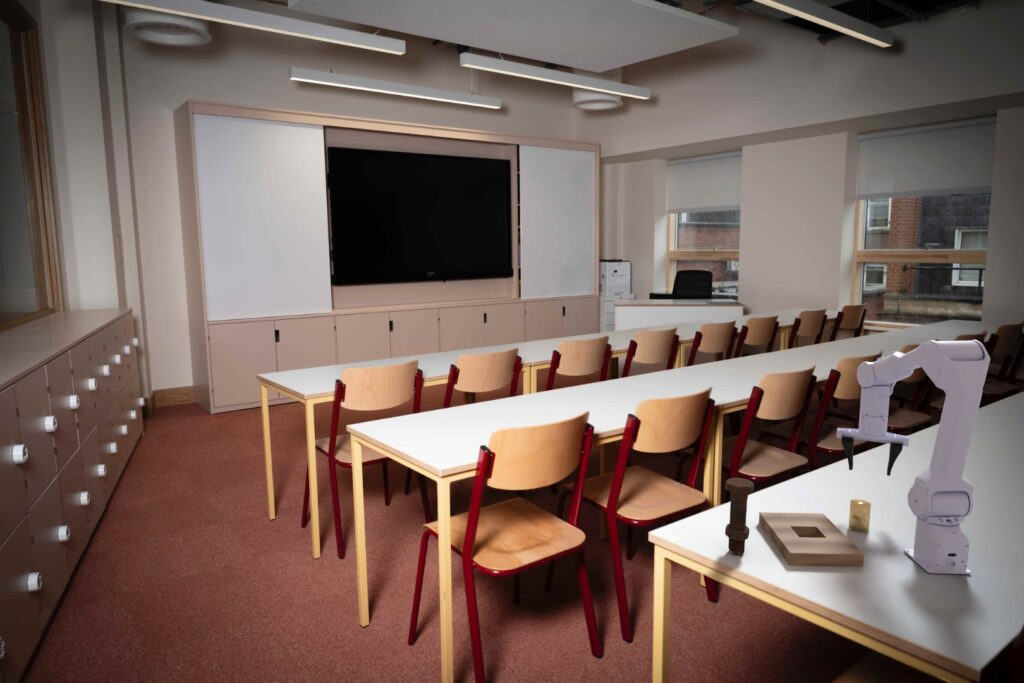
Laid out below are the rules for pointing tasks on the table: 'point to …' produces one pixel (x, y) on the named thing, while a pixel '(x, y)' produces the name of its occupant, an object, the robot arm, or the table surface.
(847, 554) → the slot block
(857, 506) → the pin
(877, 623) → the table surface
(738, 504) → the bolt
